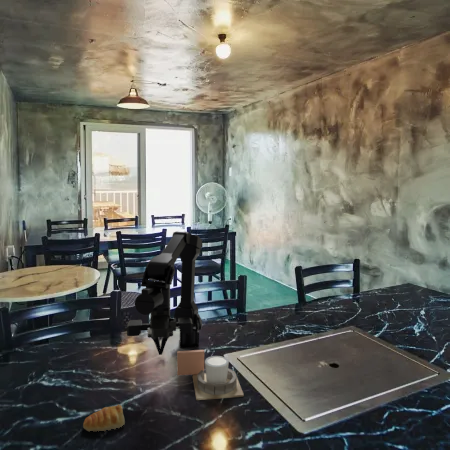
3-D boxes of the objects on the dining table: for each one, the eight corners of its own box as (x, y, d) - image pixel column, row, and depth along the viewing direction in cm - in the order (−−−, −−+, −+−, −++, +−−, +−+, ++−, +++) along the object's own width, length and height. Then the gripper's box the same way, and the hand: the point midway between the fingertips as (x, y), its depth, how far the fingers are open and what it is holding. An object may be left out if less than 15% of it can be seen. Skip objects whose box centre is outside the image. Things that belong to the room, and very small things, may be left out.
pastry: (84, 439, 86) (84, 423, 86) (81, 422, 92) (81, 407, 92) (126, 427, 90) (126, 412, 90) (121, 412, 96) (120, 398, 96)
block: (177, 375, 113) (177, 353, 112) (177, 373, 114) (177, 351, 114) (204, 373, 114) (204, 351, 114) (203, 371, 116) (203, 349, 115)
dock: (196, 400, 102) (196, 389, 101) (192, 375, 115) (192, 366, 114) (243, 396, 104) (243, 386, 104) (234, 372, 117) (234, 363, 116)
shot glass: (232, 381, 111) (232, 358, 110) (222, 392, 105) (222, 368, 104) (211, 376, 114) (211, 353, 113) (200, 387, 107) (200, 363, 107)
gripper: (124, 314, 101) (125, 369, 103) (194, 311, 104) (194, 365, 106) (128, 301, 112) (128, 351, 114) (191, 298, 115) (191, 347, 117)
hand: (160, 354), depth 112 cm, fingers closed
